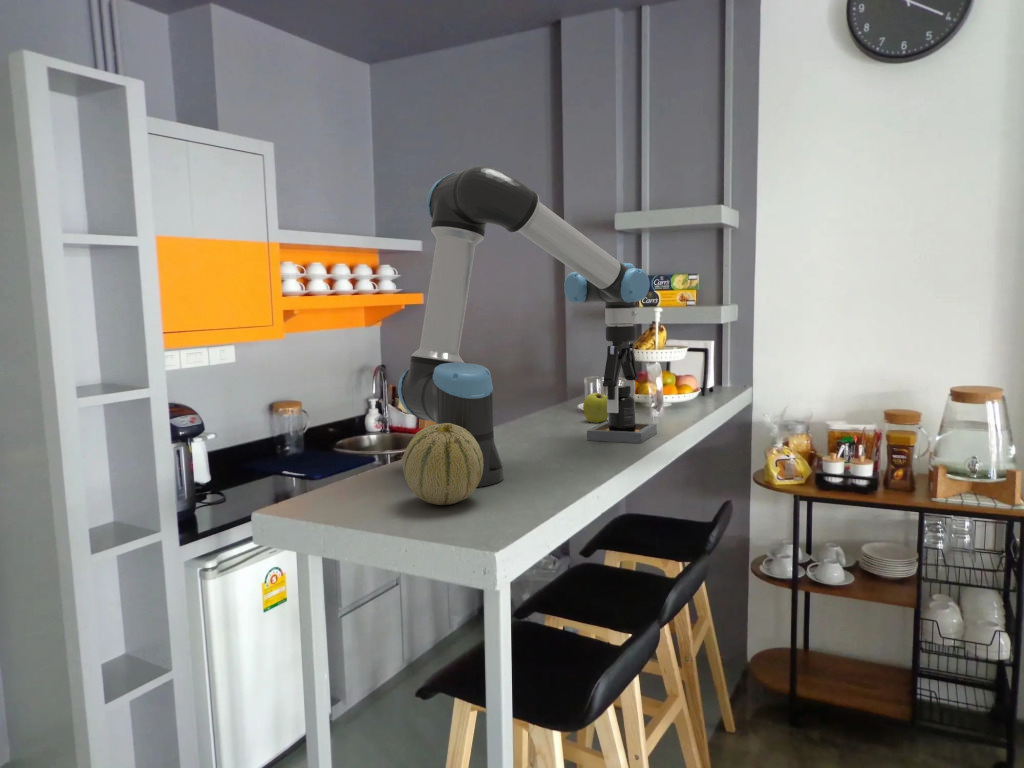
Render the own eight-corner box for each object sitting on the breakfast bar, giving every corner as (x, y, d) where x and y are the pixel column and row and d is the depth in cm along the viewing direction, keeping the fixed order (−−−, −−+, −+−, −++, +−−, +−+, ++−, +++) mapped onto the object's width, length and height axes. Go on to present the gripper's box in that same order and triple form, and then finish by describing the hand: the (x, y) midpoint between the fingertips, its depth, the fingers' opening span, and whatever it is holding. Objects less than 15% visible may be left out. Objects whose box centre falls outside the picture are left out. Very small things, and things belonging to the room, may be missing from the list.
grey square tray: (641, 443, 185) (640, 433, 185) (587, 440, 191) (586, 430, 191) (656, 433, 198) (656, 423, 197) (605, 430, 204) (605, 421, 203)
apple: (578, 416, 222) (587, 383, 221) (604, 423, 222) (614, 391, 221) (579, 421, 214) (589, 387, 213) (606, 428, 214) (616, 395, 213)
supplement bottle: (634, 430, 197) (634, 384, 196) (636, 435, 190) (635, 387, 189) (608, 430, 198) (607, 385, 197) (608, 435, 191) (608, 388, 190)
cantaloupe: (445, 488, 148) (441, 412, 146) (502, 500, 139) (499, 419, 137) (386, 506, 137) (382, 424, 135) (444, 520, 127) (440, 432, 126)
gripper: (619, 327, 178) (620, 416, 181) (649, 323, 200) (649, 402, 203) (589, 327, 182) (590, 415, 184) (621, 323, 204) (622, 401, 206)
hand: (621, 408), depth 193 cm, fingers open, 13 cm apart
